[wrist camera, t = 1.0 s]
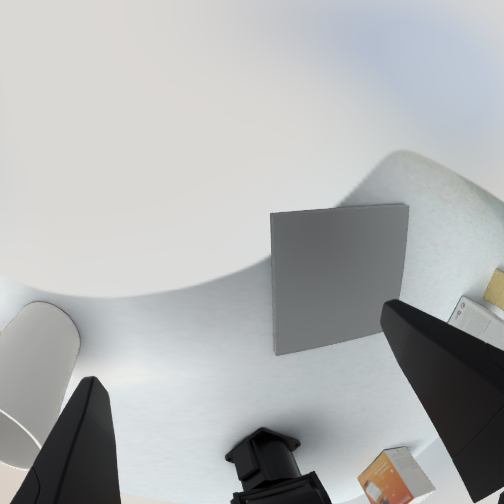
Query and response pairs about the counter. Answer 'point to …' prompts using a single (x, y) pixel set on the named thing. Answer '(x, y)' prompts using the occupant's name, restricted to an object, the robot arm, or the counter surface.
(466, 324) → the skincare box
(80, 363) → the counter surface
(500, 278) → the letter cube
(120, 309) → the counter surface
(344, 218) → the slate pad
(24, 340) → the mug
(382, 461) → the small box
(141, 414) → the counter surface
